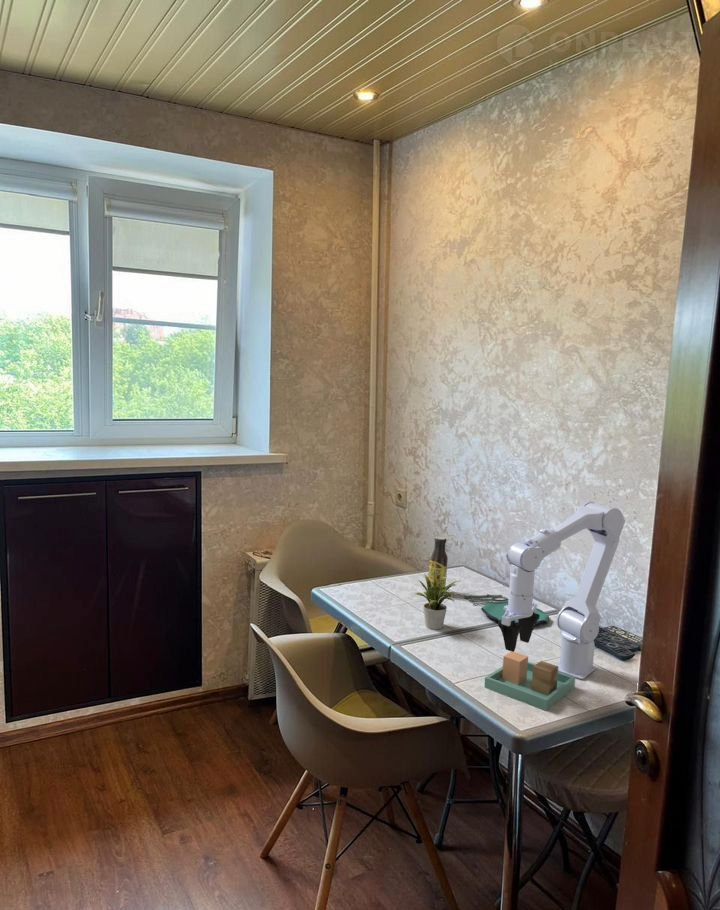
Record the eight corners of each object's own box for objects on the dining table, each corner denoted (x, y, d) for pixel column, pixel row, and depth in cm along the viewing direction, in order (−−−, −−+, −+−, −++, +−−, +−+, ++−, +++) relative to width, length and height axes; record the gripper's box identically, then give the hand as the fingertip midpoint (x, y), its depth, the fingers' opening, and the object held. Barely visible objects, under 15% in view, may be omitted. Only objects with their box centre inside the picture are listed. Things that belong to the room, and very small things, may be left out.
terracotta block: (510, 673, 167) (512, 651, 166) (526, 679, 164) (528, 656, 163) (502, 679, 164) (503, 656, 163) (518, 685, 161) (519, 661, 160)
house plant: (457, 639, 189) (460, 584, 187) (409, 634, 191) (412, 580, 189) (460, 622, 203) (463, 570, 201) (415, 617, 205) (417, 566, 203)
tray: (515, 666, 172) (516, 657, 172) (574, 687, 162) (575, 677, 162) (484, 687, 160) (485, 677, 160) (546, 710, 150) (546, 700, 150)
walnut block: (539, 683, 162) (541, 660, 161) (556, 690, 159) (558, 666, 158) (531, 689, 159) (533, 666, 158) (548, 696, 156) (550, 672, 155)
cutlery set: (502, 631, 196) (502, 624, 196) (457, 599, 225) (458, 593, 225) (559, 627, 202) (560, 620, 202) (509, 596, 231) (509, 590, 231)
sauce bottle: (423, 592, 229) (426, 536, 227) (434, 588, 234) (437, 534, 231) (438, 597, 225) (441, 540, 222) (449, 593, 229) (452, 537, 226)
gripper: (519, 582, 169) (516, 633, 171) (491, 595, 158) (488, 649, 160) (545, 589, 165) (541, 641, 166) (518, 602, 154) (514, 658, 155)
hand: (517, 645), depth 163 cm, fingers open, 7 cm apart
